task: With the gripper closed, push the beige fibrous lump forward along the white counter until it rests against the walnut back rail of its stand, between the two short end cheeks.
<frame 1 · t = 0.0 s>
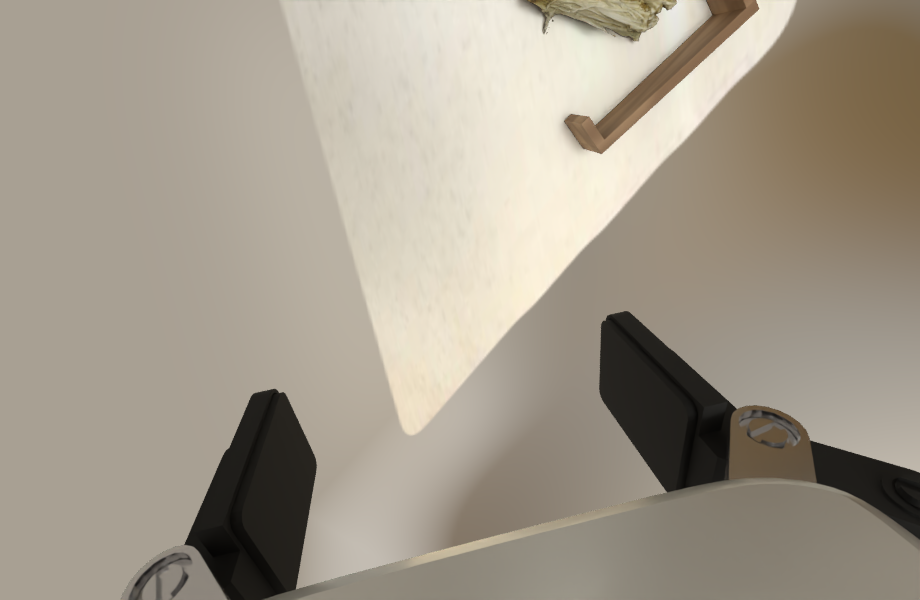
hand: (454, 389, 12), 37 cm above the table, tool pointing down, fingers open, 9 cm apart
stand: (642, 69, 44), on the table
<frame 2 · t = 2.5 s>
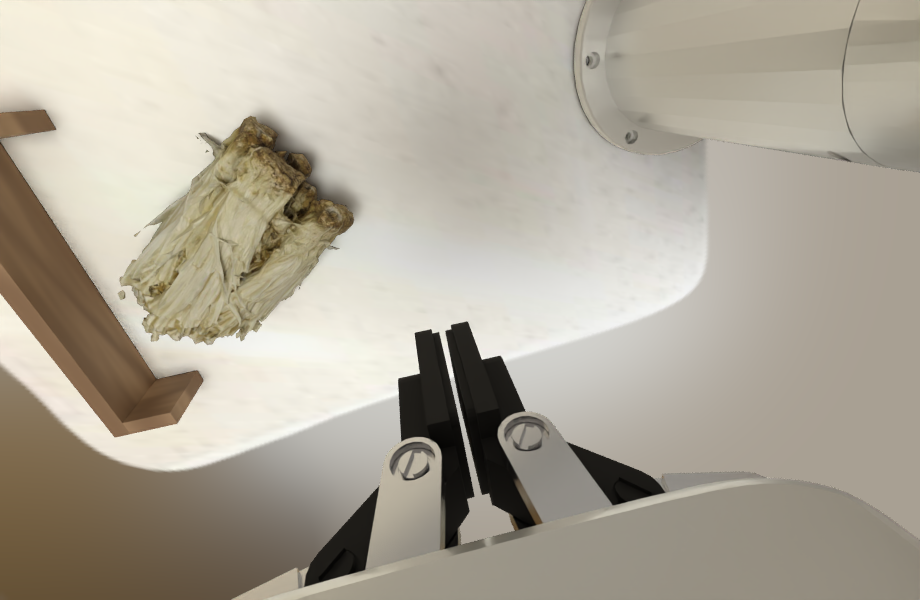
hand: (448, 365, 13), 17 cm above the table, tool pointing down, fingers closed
beige fibrous lump: (252, 232, 27), on the table
stand: (105, 275, 26), on the table
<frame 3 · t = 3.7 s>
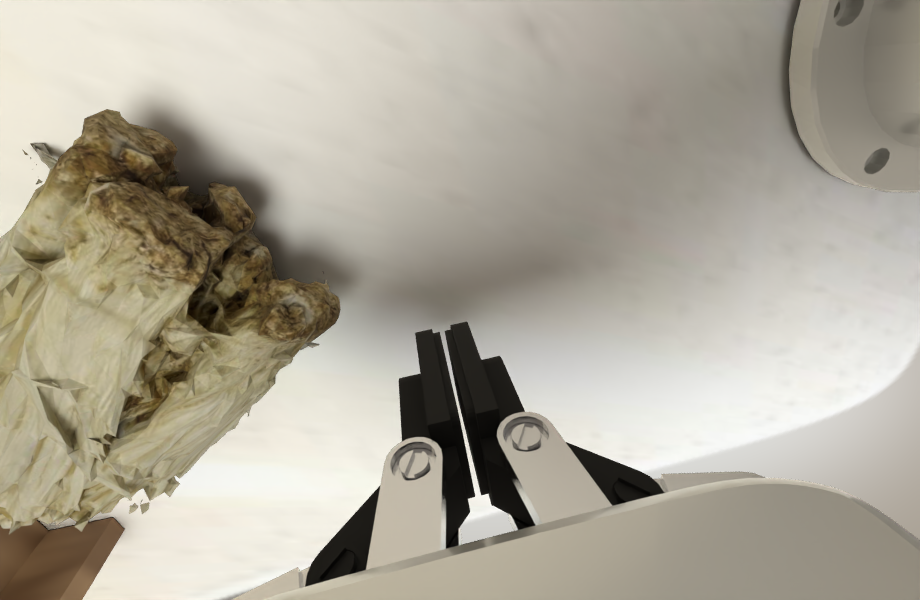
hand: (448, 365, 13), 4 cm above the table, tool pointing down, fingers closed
beige fibrous lump: (166, 314, 15), on the table
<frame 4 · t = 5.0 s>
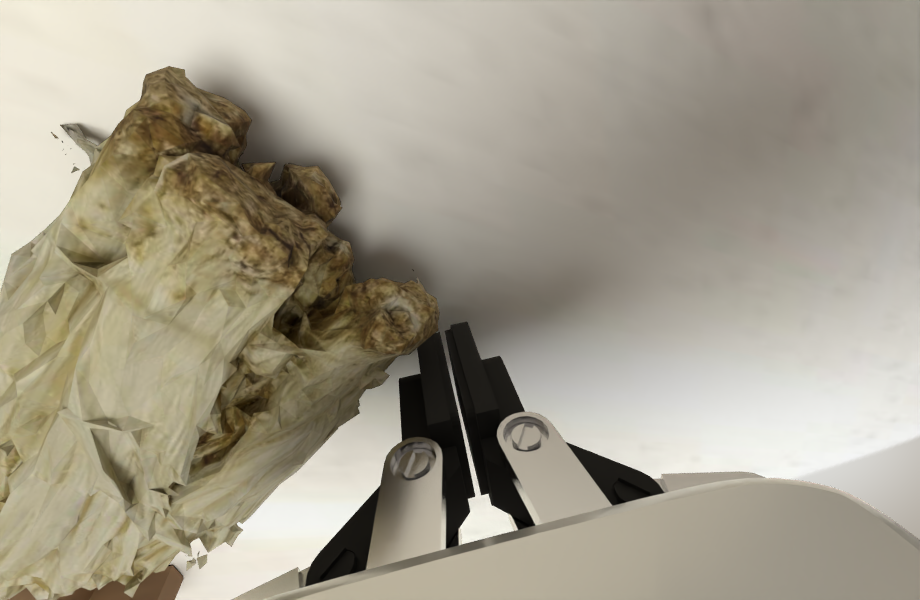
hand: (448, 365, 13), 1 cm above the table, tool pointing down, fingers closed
beige fibrous lump: (217, 329, 13), on the table, touching gripper
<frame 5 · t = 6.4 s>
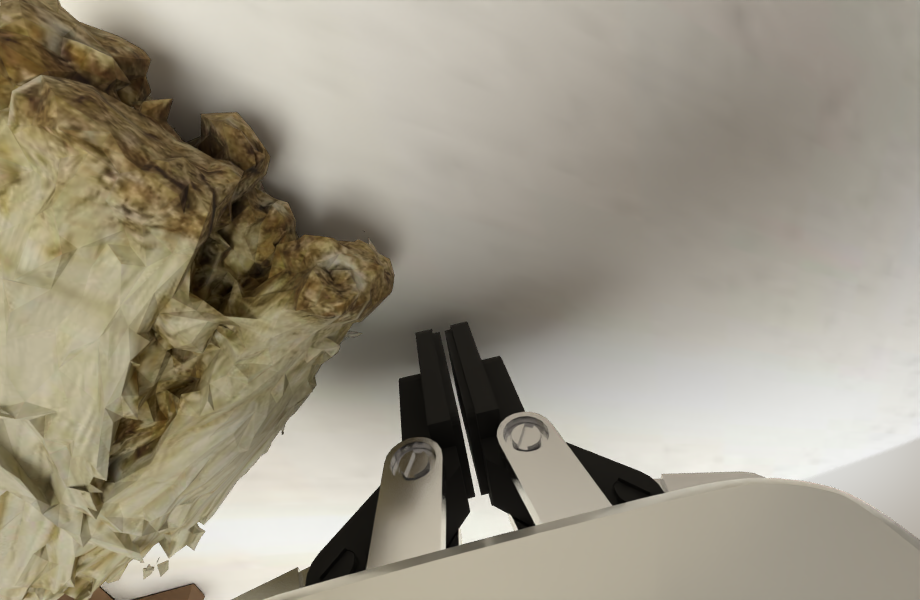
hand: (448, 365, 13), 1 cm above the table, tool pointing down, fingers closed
beige fibrous lump: (165, 317, 12), on the table
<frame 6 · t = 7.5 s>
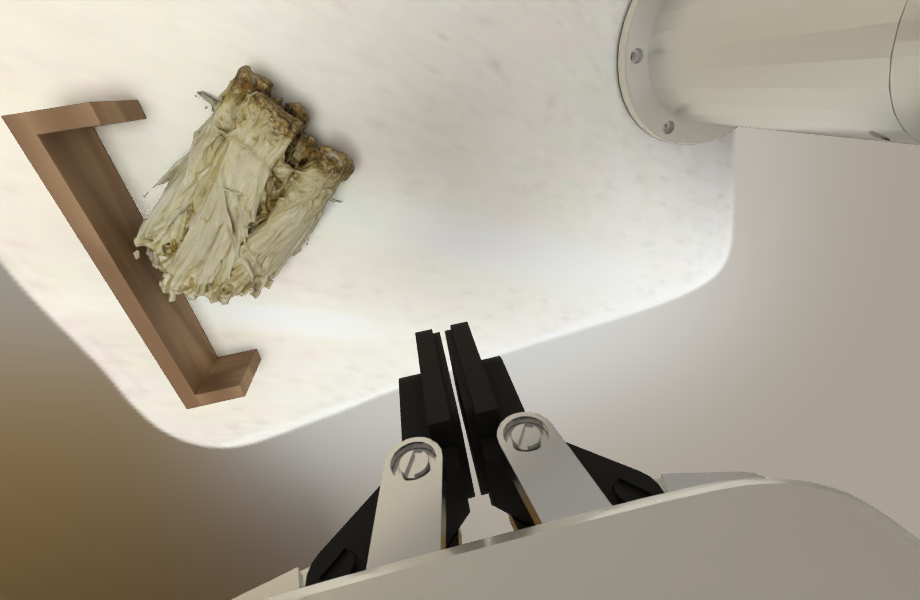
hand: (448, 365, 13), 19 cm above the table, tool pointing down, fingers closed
beige fibrous lump: (257, 192, 27), on the table
stand: (179, 256, 28), on the table
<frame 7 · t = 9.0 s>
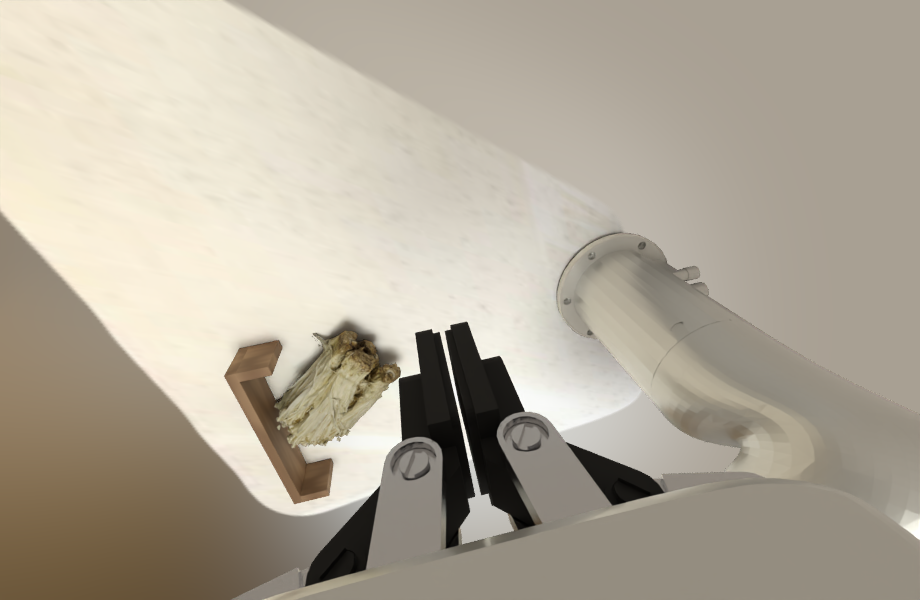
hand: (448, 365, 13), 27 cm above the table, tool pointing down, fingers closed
beige fibrous lump: (339, 375, 45), on the table
stand: (291, 412, 46), on the table
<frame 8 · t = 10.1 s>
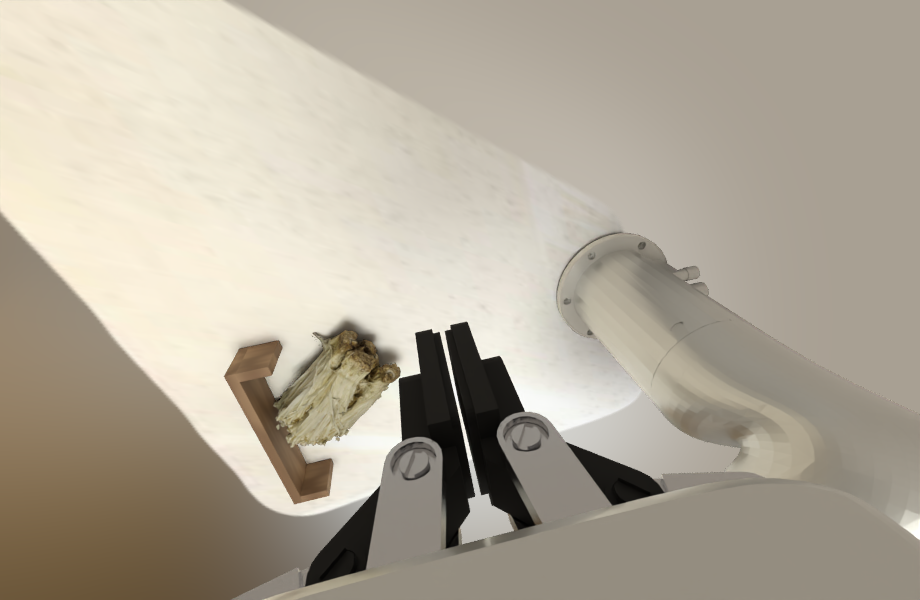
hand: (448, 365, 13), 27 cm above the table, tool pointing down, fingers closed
beige fibrous lump: (339, 375, 45), on the table
stand: (291, 412, 46), on the table
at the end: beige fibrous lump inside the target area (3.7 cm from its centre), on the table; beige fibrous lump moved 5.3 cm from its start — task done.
